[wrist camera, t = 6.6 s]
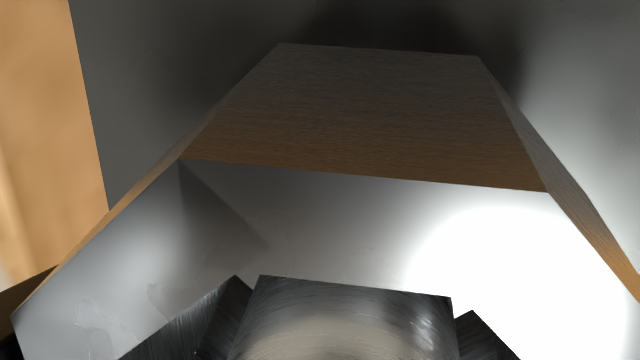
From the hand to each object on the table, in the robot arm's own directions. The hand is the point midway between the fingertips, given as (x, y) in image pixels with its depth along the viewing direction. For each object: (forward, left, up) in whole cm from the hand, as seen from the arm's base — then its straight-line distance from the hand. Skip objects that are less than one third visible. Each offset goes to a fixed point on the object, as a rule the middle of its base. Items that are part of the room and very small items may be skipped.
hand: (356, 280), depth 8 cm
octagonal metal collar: (0, 0, -1) cm, 1 cm away
